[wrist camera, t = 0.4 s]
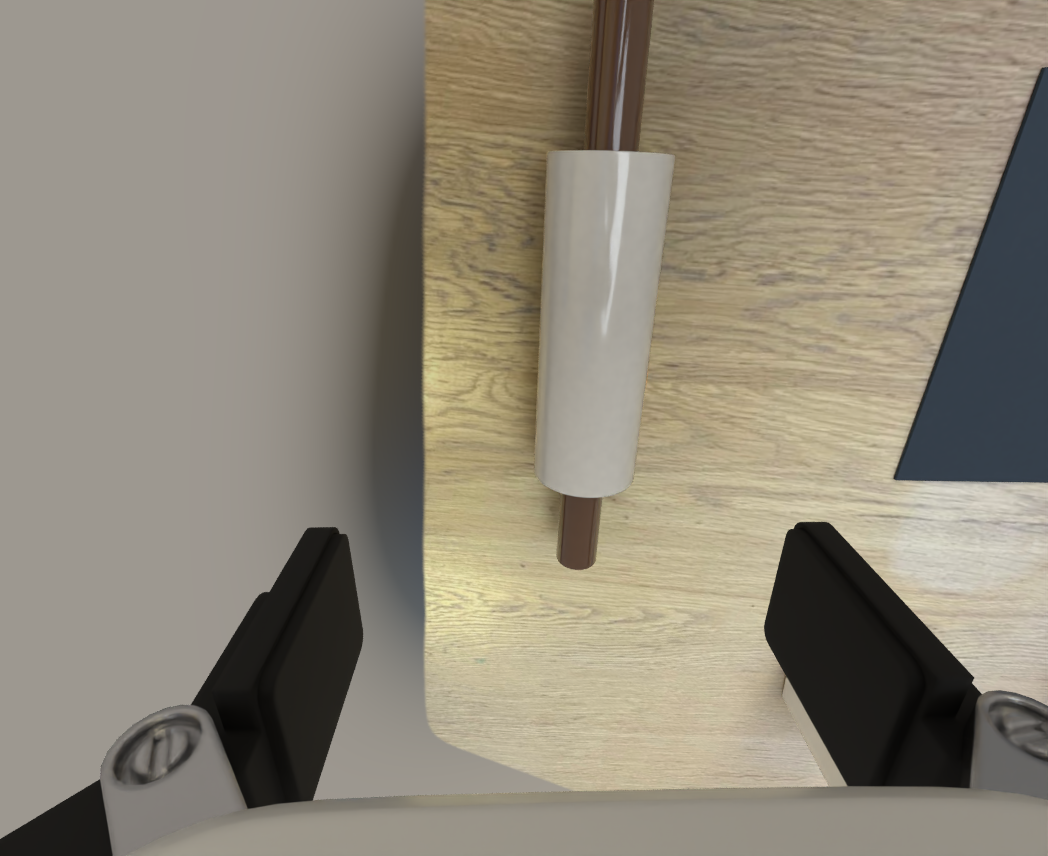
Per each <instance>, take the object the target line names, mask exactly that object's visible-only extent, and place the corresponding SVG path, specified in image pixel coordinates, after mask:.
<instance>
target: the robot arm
mask: <svg viewBox="0 0 1048 856" xmlns="http://www.w3.org/2000/svg"><path fill="white" fill-rule="evenodd" d="M764 632H765V637H766V640H767V642H768V644H769V646H770V648H771V650H772V652H773V653H774V655H775V657H776V659H777V661H778V662H779V664H780V666H781V668H782V669H783V671H784V673H785V675H786V677H787V678H788V680H789V682H790V684H791V686H792V687H793V689H794V691H795V693H796V695H797V696H798V698H799V700H800V702H801V704H802V705H803V707H804V709H805V711H806V713H807V714H808V716H809V718H810V720H811V722H812V723H813V725H814V727H815V729H816V731H817V732H818V734H819V736H820V738H821V740H822V741H823V743H824V745H825V747H826V749H827V750H828V752H829V754H830V756H831V758H832V759H833V761H834V763H835V765H836V767H837V768H838V770H839V772H840V774H841V776H842V777H843V779H844V781H845V783H846V785H847V786H842V787H776V788H711V789H662V790H614V791H569V792H528V793H494V794H493V793H491V794H456V795H418V796H394V797H371V798H350V799H326V800H315V801H313V798H314V794H315V791H316V788H317V785H318V782H319V778H320V776H321V772H322V770H323V766H324V763H325V760H326V757H327V754H328V751H329V748H330V744H331V741H332V738H333V735H334V732H335V729H336V726H337V723H338V720H339V717H340V713H341V710H342V707H343V704H344V701H345V698H346V695H347V691H348V689H349V685H350V682H351V679H352V676H353V673H354V670H355V667H356V664H357V660H358V657H359V654H360V651H361V647H362V642H363V628H362V622H361V615H360V610H359V603H358V597H357V591H356V585H355V578H354V572H353V565H352V560H351V553H350V547H349V541H348V537H347V535H346V534H339V531H338V529H337V528H336V527H323V528H322V527H320V528H319V527H318V528H308V529H307V530H306V531H305V533H304V534H303V536H302V538H301V539H300V541H299V543H298V544H297V546H296V548H295V550H294V551H293V553H292V555H291V556H290V558H289V560H288V561H287V563H286V565H285V566H284V568H283V570H282V572H281V574H280V575H279V577H278V578H277V580H276V582H275V584H274V585H273V587H272V589H271V591H270V592H264V593H262V594H260V595H259V596H258V597H257V598H256V600H255V601H254V603H253V604H252V606H251V607H250V609H249V611H248V612H247V614H246V616H245V617H244V619H243V621H242V622H241V624H240V626H239V627H238V629H237V630H236V632H235V634H234V635H233V637H232V638H231V640H230V642H229V643H228V645H227V647H226V648H225V650H224V652H223V653H222V655H221V656H220V658H219V660H218V661H217V663H216V665H215V667H214V668H213V670H212V671H211V673H210V675H209V676H208V678H207V679H206V681H205V683H204V684H203V686H202V687H201V689H200V691H199V692H198V694H197V696H196V697H195V699H194V701H193V702H192V704H191V705H178V706H173V707H168V708H165V709H162V710H160V711H157V712H155V713H153V714H150V715H148V716H147V717H145V718H143V719H142V720H140V721H139V722H137V723H135V724H134V725H132V727H130V728H129V729H128V730H127V731H126V732H125V733H123V734H122V735H121V736H120V737H119V738H118V739H117V740H116V742H115V743H114V744H113V745H112V747H111V748H110V749H109V750H108V752H107V754H106V756H105V758H104V761H103V763H102V765H101V773H100V774H101V775H100V780H98V781H96V782H95V783H93V784H91V785H90V786H88V787H86V788H85V789H83V790H82V791H80V792H78V793H76V794H75V795H73V796H71V797H70V798H68V799H66V800H65V801H63V802H61V803H60V804H58V805H56V806H55V807H53V808H51V809H50V810H48V811H46V812H45V813H43V814H41V815H40V816H38V817H36V818H35V819H33V820H31V821H30V822H28V823H27V824H25V825H23V826H21V827H20V828H18V829H16V830H15V831H13V832H11V833H10V834H8V835H6V836H5V837H3V838H1V839H0V856H1048V706H1047V705H1045V704H1043V703H1041V702H1039V701H1036V700H1034V699H1032V698H1029V697H1026V696H1023V695H1020V694H1017V693H1013V692H1007V691H1001V690H998V691H988V692H986V693H984V694H981V693H980V692H979V690H978V689H977V688H976V687H975V686H974V685H973V684H972V681H973V679H974V677H973V676H972V675H971V674H970V673H969V672H968V671H967V669H966V668H965V667H964V666H963V665H962V664H961V663H960V662H959V661H958V660H957V659H956V658H955V657H954V656H953V654H952V653H951V652H950V651H949V650H948V649H947V648H946V647H945V646H944V645H943V644H942V643H941V642H940V641H939V639H938V638H937V637H936V636H935V635H934V634H933V633H932V632H931V631H930V630H929V629H928V628H927V627H926V626H925V624H924V623H923V622H922V621H921V620H920V619H919V618H918V617H917V616H916V615H915V614H914V613H913V612H912V611H911V609H910V608H909V607H908V606H907V605H906V604H905V603H904V602H903V601H902V600H901V599H900V598H899V597H898V596H897V594H896V593H895V592H894V591H893V590H892V589H891V588H890V587H889V586H888V585H887V584H886V583H885V582H884V581H883V579H882V578H881V577H880V576H879V575H878V574H877V573H876V572H875V571H874V570H873V569H872V568H871V567H870V566H869V564H868V563H867V562H866V561H865V560H864V559H863V558H862V557H861V556H860V555H859V554H858V553H857V552H856V551H855V550H854V548H853V547H852V546H851V545H850V544H849V543H848V542H847V541H846V540H845V539H844V538H843V537H842V536H841V535H840V533H839V532H838V531H837V530H836V529H835V528H834V527H833V526H832V525H831V524H830V523H828V522H799V523H797V524H796V525H795V527H794V529H790V530H789V531H788V532H787V534H786V538H785V542H784V546H783V550H782V554H781V558H780V562H779V566H778V570H777V575H776V579H775V583H774V587H773V591H772V595H771V599H770V603H769V607H768V611H767V616H766V620H765V625H764Z"/></svg>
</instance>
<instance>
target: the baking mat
mask: <svg viewBox="0 0 1048 856" xmlns="http://www.w3.org/2000/svg"><path fill="white" fill-rule="evenodd" d="M894 479H895V480H915V481H980V482H1044V483H1048V67H1045V68H1042V70H1041V73H1040V76H1039V78H1038V81H1037V84H1036V87H1035V89H1034V92H1033V95H1032V98H1031V101H1030V103H1029V106H1028V109H1027V112H1026V114H1025V117H1024V120H1023V123H1022V125H1021V128H1020V131H1019V134H1018V136H1017V139H1016V142H1015V145H1014V148H1013V150H1012V153H1011V156H1010V159H1009V161H1008V164H1007V167H1006V170H1005V172H1004V175H1003V178H1002V181H1001V183H1000V186H999V189H998V192H997V195H996V197H995V200H994V203H993V206H992V208H991V211H990V214H989V217H988V219H987V222H986V225H985V228H984V231H983V233H982V236H981V239H980V242H979V244H978V247H977V250H976V253H975V255H974V258H973V261H972V264H971V266H970V269H969V272H968V275H967V278H966V280H965V283H964V286H963V289H962V291H961V294H960V297H959V300H958V302H957V305H956V308H955V311H954V314H953V316H952V319H951V322H950V325H949V327H948V330H947V333H946V336H945V338H944V341H943V344H942V347H941V349H940V352H939V355H938V358H937V361H936V363H935V366H934V369H933V372H932V374H931V377H930V380H929V383H928V385H927V388H926V391H925V394H924V397H923V399H922V402H921V405H920V408H919V410H918V413H917V416H916V419H915V421H914V424H913V427H912V430H911V432H910V435H909V438H908V441H907V444H906V446H905V449H904V452H903V455H902V457H901V460H900V463H899V466H898V468H897V471H896V474H895V477H894Z"/></svg>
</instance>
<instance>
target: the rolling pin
mask: <svg viewBox="0 0 1048 856" xmlns="http://www.w3.org/2000/svg"><path fill="white" fill-rule="evenodd" d="M653 8H654V0H593V14H592V29H591V44H590V59H589V74H588V89H587V104H586V119H585V134H584V149H583V150H561V151H549V152H547V164H546V189H545V213H544V237H543V261H542V285H541V309H540V333H539V357H538V381H537V405H536V429H535V453H534V473H535V475H536V477H537V479H538V480H539V481H540V482H541V483H542V484H544V485H545V486H546V487H548V488H550V489H552V490H554V491H556V492H559V493H561V495H560V510H559V525H558V540H557V559H558V561H559V562H560V563H561V564H562V565H563V566H565V567H567V568H570V569H574V570H583V569H587V568H589V567H591V566H592V565H593V564H594V563H595V561H596V554H597V544H598V534H599V525H600V515H601V506H602V497H606V496H611V495H615V494H618V493H620V492H622V491H624V490H626V489H627V488H628V487H629V486H630V485H631V484H632V482H633V479H634V473H635V465H636V457H637V450H638V442H639V434H640V427H641V419H642V411H643V404H644V396H645V388H646V381H647V373H648V365H649V358H650V350H651V342H652V335H653V327H654V319H655V312H656V304H657V296H658V289H659V281H660V273H661V266H662V258H663V250H664V243H665V235H666V228H667V220H668V212H669V205H670V197H671V189H672V182H673V174H674V166H675V159H676V155H673V154H666V153H654V152H638V151H639V142H640V132H641V123H642V113H643V104H644V94H645V84H646V75H647V65H648V56H649V46H650V37H651V27H652V17H653Z"/></svg>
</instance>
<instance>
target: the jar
mask: <svg viewBox="0 0 1048 856" xmlns="http://www.w3.org/2000/svg"><path fill="white" fill-rule="evenodd" d="M782 697H783V700H784V701H785V703H786V705H787V707H788V709H789V711H790V713H791V715H792V717H793V719H794V721H795V723H796V724H797V726H798V728H799V730H800V732H801V734H802V736H803V738H804V740H805V742H806V744H807V746H808V747H809V749H810V751H811V753H812V755H813V757H814V759H815V761H816V763H817V765H818V767H819V769H820V770H821V772H822V774H823V776H824V778H825V780H826V782H827V784H828V786H829V787H842V786H847V785H846V783H845V781H844V779H843V777H842V776H841V774H840V772H839V770H838V768H837V767H836V765H835V763H834V761H833V759H832V758H831V756H830V754H829V752H828V750H827V749H826V747H825V745H824V743H823V741H822V740H821V738H820V736H819V734H818V732H817V731H816V729H815V727H814V725H813V723H812V722H811V720H810V718H809V716H808V714H807V713H806V711H805V709H804V707H803V705H802V704H801V702H800V700H799V698H798V696H797V695H796V693H795V691H794V689H793V687H792V686H791V684H790V682H789V680H788V678H787V677H786V679H785V684H784V689H783V693H782Z"/></svg>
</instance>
